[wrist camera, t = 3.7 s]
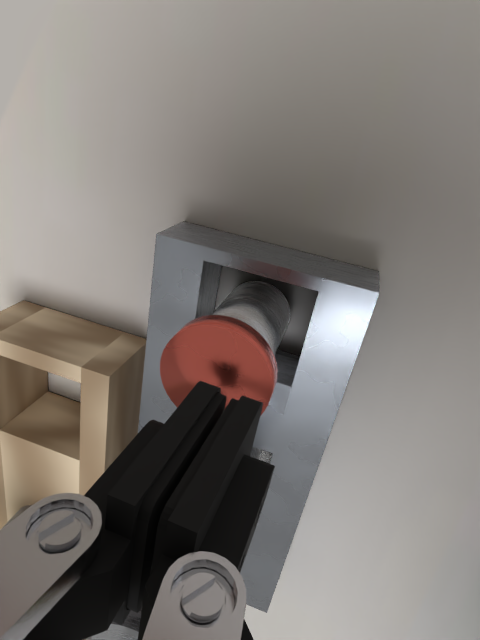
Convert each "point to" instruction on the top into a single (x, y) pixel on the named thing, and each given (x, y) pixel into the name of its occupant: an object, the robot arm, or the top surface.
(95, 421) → the rack
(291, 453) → the socket block
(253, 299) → the red topped peg
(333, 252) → the top surface
